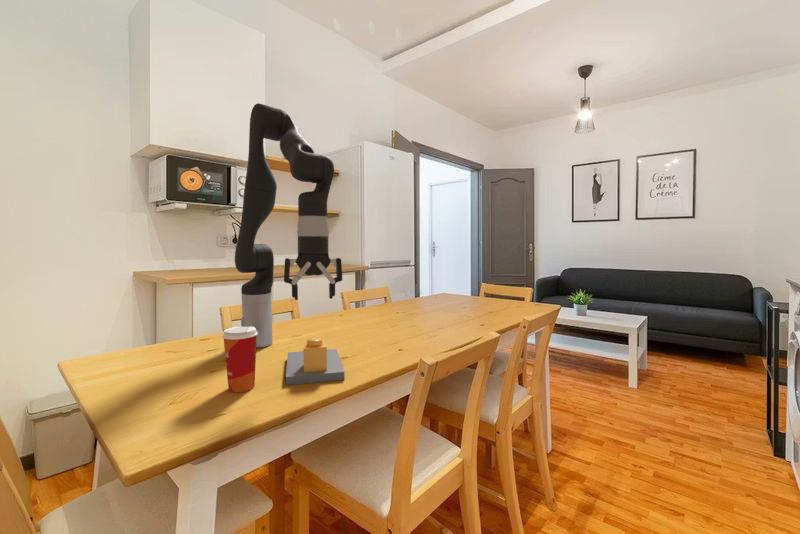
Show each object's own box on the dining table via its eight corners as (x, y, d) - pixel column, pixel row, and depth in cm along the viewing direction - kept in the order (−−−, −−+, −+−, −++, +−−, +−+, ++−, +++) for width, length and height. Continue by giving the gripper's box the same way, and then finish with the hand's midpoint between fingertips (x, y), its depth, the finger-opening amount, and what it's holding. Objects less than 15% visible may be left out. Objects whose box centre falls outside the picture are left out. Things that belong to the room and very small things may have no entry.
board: (285, 385, 88) (285, 358, 88) (288, 359, 108) (287, 337, 107) (344, 379, 92) (344, 354, 92) (336, 355, 111) (336, 334, 111)
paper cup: (233, 381, 91) (231, 325, 90) (264, 381, 91) (263, 325, 89) (216, 394, 83) (214, 333, 82) (250, 395, 83) (248, 333, 82)
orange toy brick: (303, 372, 92) (303, 343, 91) (303, 364, 97) (303, 337, 96) (326, 370, 93) (326, 342, 92) (325, 363, 98) (325, 336, 98)
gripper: (340, 235, 98) (340, 295, 99) (283, 234, 94) (284, 297, 95) (343, 235, 91) (343, 300, 92) (282, 234, 87) (283, 302, 88)
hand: (313, 298), depth 94 cm, fingers open, 8 cm apart
